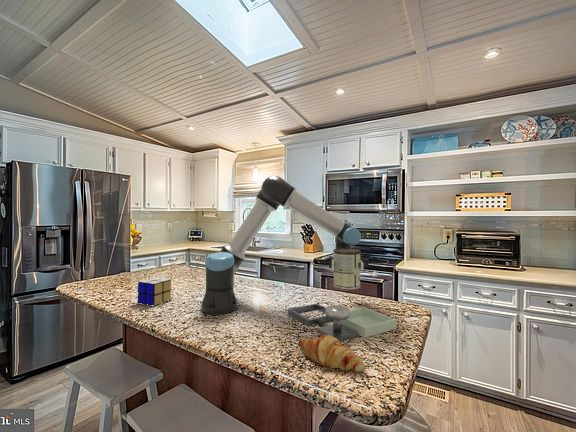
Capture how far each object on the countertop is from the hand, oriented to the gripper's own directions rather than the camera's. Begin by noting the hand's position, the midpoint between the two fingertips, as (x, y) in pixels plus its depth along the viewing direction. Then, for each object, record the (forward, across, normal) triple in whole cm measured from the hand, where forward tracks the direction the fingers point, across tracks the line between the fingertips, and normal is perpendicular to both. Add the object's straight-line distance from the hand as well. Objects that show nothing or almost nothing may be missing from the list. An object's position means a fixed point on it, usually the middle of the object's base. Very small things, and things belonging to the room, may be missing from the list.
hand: (347, 266), depth 107 cm
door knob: (+7, +5, -22) cm, 24 cm away
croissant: (+28, +7, -22) cm, 36 cm away
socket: (-7, +13, -22) cm, 26 cm away
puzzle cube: (-12, +86, -22) cm, 89 cm away
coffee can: (-4, 0, -9) cm, 10 cm away
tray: (-1, -6, -22) cm, 23 cm away
